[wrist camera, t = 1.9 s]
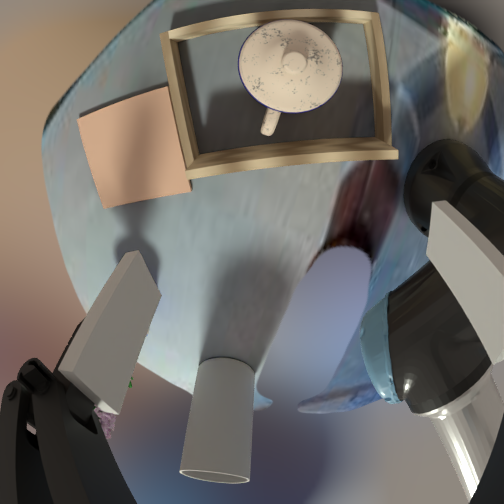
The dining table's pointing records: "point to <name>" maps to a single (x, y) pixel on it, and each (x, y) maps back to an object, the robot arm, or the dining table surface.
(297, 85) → the teacup with lid
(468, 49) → the dining table surface
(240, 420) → the cylinder vase
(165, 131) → the terracotta tile
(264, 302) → the dining table surface
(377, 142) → the frame
